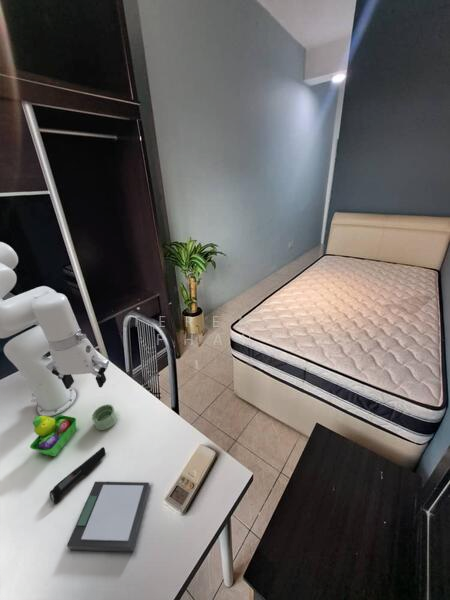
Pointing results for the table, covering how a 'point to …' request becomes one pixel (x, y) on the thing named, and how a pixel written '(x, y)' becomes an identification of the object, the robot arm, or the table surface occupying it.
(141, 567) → the table surface
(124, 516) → the scale
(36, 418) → the fruit basket
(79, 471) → the electric trimmer
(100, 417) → the bowl
